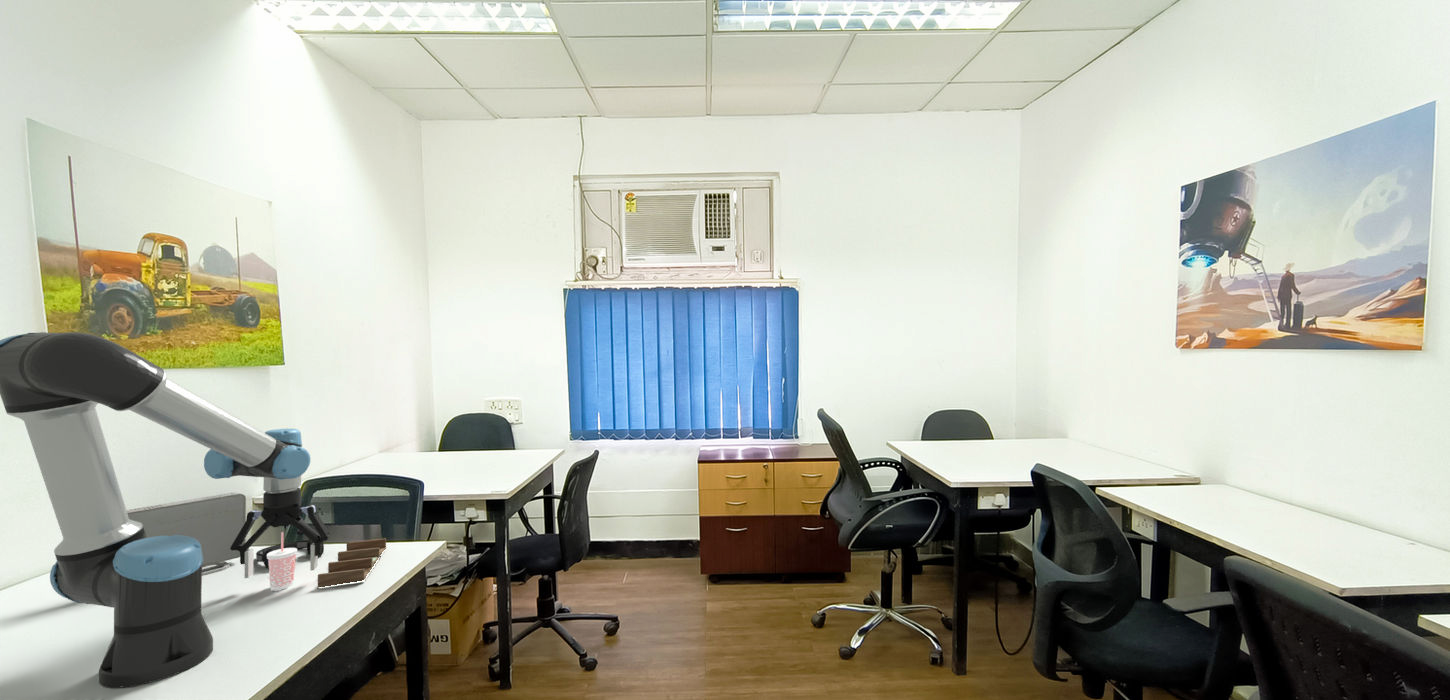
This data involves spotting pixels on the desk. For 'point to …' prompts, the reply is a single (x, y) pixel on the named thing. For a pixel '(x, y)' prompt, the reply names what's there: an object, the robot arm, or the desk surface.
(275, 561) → the beverage cup
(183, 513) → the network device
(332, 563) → the slot rack
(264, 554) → the headset
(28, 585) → the desk surface
